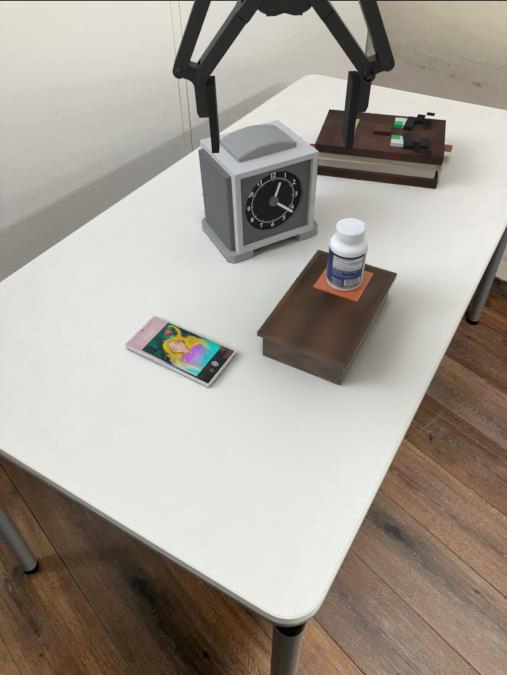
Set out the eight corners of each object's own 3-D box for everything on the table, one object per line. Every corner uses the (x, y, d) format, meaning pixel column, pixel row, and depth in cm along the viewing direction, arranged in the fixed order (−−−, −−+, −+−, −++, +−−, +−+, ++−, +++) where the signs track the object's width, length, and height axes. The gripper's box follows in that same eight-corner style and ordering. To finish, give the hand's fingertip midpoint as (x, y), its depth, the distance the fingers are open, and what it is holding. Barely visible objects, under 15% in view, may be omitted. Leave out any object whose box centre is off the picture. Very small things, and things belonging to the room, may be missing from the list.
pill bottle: (333, 265, 79) (339, 211, 72) (366, 274, 78) (376, 220, 70) (320, 286, 76) (325, 231, 69) (355, 296, 74) (364, 241, 67)
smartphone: (208, 385, 69) (123, 345, 75) (209, 388, 70) (124, 348, 75) (236, 351, 74) (154, 315, 79) (236, 354, 74) (154, 318, 79)
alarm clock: (230, 265, 88) (223, 167, 75) (200, 226, 96) (188, 131, 83) (320, 234, 94) (328, 137, 80) (284, 199, 102) (286, 107, 88)
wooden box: (391, 297, 82) (397, 272, 78) (342, 389, 69) (347, 364, 66) (316, 273, 86) (318, 248, 82) (257, 355, 74) (256, 330, 70)
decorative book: (320, 102, 115) (458, 114, 109) (317, 134, 121) (449, 148, 115) (302, 141, 102) (458, 157, 96) (300, 175, 108) (447, 193, 102)
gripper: (442, -144, 40) (394, 124, 55) (123, -133, 40) (164, 132, 55) (472, -134, 35) (410, 158, 50) (107, -121, 35) (157, 166, 50)
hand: (281, 145), depth 53 cm, fingers open, 13 cm apart
